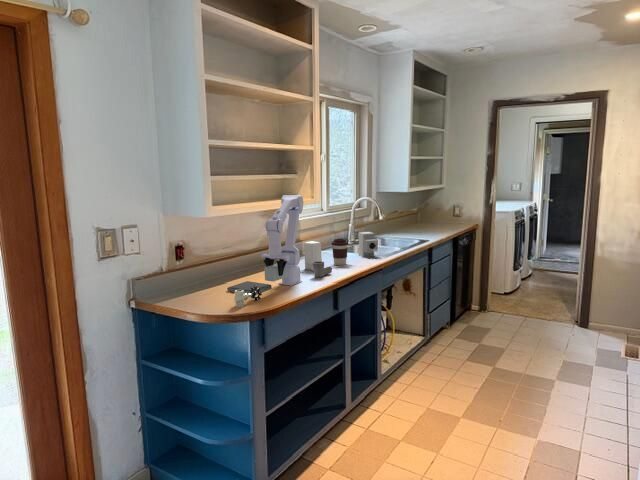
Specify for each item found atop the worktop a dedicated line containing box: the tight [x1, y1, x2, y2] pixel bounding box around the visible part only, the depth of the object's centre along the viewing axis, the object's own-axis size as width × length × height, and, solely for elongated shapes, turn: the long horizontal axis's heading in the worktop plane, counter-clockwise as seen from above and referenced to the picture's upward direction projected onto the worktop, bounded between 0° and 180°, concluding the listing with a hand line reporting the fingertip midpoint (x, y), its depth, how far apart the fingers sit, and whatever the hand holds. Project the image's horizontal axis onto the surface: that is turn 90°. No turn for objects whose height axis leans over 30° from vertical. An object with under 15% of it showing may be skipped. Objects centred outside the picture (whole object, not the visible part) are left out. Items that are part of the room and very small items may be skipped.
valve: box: [234, 286, 263, 308], centre depth 186 cm, size 7×7×12 cm
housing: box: [264, 263, 287, 282], centre depth 203 cm, size 10×5×6 cm, turn 149°
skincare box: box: [303, 240, 323, 272], centre depth 250 cm, size 8×7×16 cm
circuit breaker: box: [357, 231, 379, 258], centre depth 285 cm, size 8×14×15 cm, turn 21°
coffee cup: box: [331, 238, 349, 266], centre depth 262 cm, size 10×10×15 cm
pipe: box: [312, 261, 333, 279], centre depth 233 cm, size 6×13×8 cm, turn 137°
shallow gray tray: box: [227, 280, 272, 295], centre depth 208 cm, size 14×15×2 cm
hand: (275, 274), depth 203 cm, fingers closed on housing, 5 cm apart
